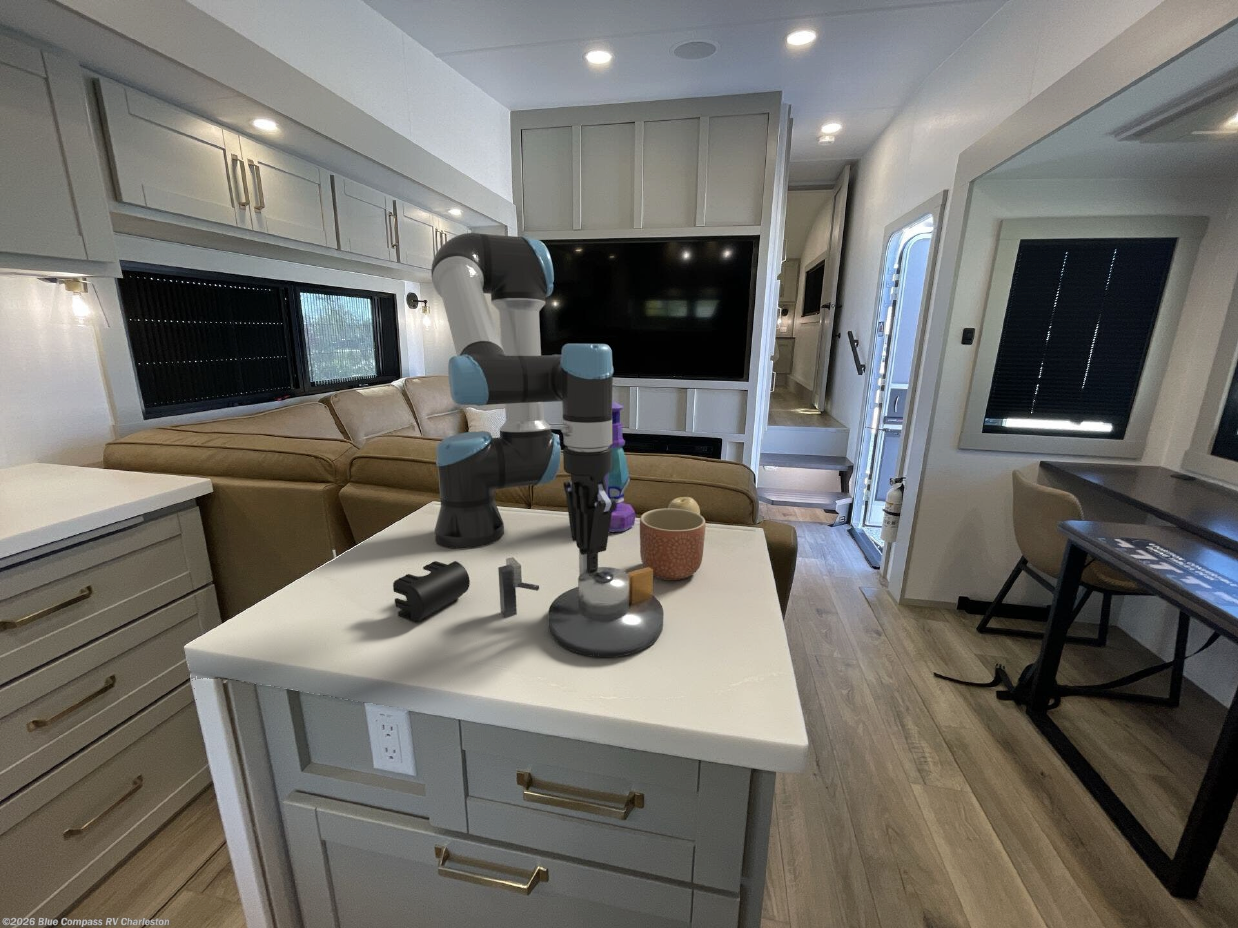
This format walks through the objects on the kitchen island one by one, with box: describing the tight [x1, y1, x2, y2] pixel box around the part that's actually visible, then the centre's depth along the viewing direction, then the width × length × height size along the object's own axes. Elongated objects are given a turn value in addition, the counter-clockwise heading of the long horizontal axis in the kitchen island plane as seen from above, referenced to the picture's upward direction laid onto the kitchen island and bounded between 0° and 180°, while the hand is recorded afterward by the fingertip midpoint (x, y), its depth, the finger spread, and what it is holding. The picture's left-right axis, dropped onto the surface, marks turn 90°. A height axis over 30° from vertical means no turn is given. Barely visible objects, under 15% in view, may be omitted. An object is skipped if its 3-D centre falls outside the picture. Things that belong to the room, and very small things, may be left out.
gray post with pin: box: [497, 556, 540, 618], centre depth 79 cm, size 6×5×9 cm
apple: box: [667, 496, 701, 515], centre depth 118 cm, size 8×8×8 cm
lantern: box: [605, 401, 636, 533], centre depth 115 cm, size 13×12×30 cm
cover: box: [577, 566, 629, 621], centre depth 77 cm, size 8×8×5 cm
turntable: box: [547, 567, 664, 658], centre depth 76 cm, size 18×18×7 cm
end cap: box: [392, 560, 471, 623], centre depth 81 cm, size 10×7×7 cm
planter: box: [639, 507, 706, 581], centre depth 94 cm, size 12×12×11 cm
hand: (588, 586), depth 81 cm, fingers closed
